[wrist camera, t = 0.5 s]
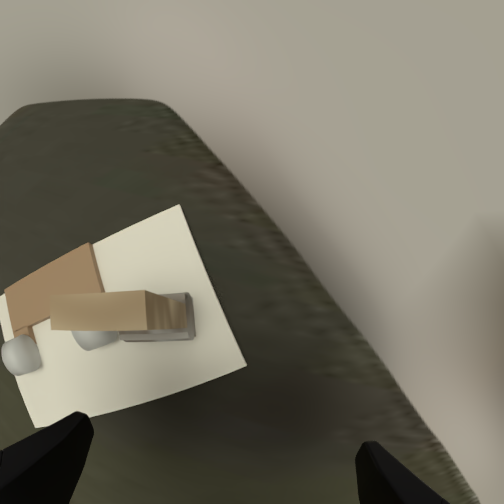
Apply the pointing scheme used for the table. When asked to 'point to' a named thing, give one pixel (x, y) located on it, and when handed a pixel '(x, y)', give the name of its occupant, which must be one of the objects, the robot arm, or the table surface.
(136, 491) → the table surface
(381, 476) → the robot arm
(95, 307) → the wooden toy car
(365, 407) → the table surface
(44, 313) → the board
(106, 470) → the table surface
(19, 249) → the table surface
